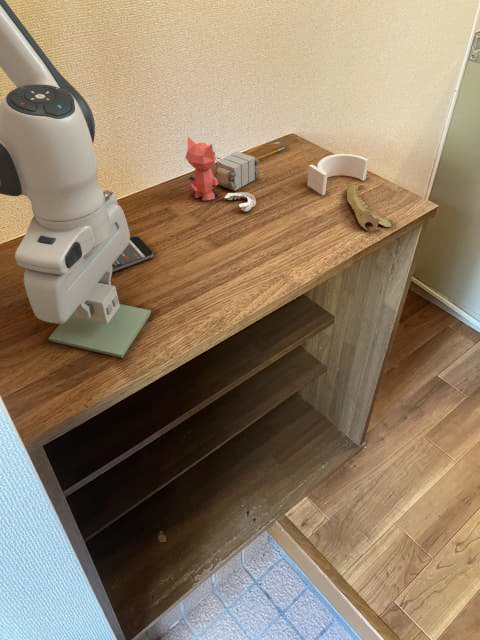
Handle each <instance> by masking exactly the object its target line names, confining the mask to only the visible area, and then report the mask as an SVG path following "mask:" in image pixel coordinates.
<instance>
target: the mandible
mask: <svg viewBox="0 0 480 640" xmlns="http://www.w3.org/2000/svg"><path fill="white" fill-rule="evenodd" d="M362 187H365V185H364V184H363V183H354V184H352V185H350V186H349V187H348V188H347V190H346V200H347V202H348V204H349V205H350V207H351V209H352V210H353V212H354V215H355V218H356V220H357V222H358V224H359V225H360V227H361V228H362V229H364V230H365V231H367V232H368V231H369V230H368V228H367V227H366V224H367V223H370V224H371V225H372V227H373V229H374V230H377V228H378V225H381V226H383V227H385V228H389V227H392V223H391V222H390V220H388V219H387V218H384V217H383V216H380V215H378V214H377V213H375V212H373V211H371V210H369V209H367V208H369V205H367V204H366V202H365V201H363V199H362V198H361V196H362V194H360V191H359V188H362Z"/></svg>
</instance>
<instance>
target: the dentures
mask: <svg viewBox="0 0 480 640" xmlns="http://www.w3.org/2000/svg"><path fill="white" fill-rule="evenodd" d="M241 198H242V199H245V198H246V199H247V201H246V202H241V203H239V205H238V206H239V208H240V210H241V211H242V212H245V213H246V212H249V211H250V210H251V209H252V208H255V207H256V204H257V200H256V197H255V196H254V195H253V194H252V193H250V192H248V191H242V192H241V191H239V192H228V193H227V194H226V195H225V196H224V199H226V200H227V201H232V200H234V201H236V200H241Z"/></svg>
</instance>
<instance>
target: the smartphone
mask: <svg viewBox="0 0 480 640" xmlns="http://www.w3.org/2000/svg"><path fill="white" fill-rule="evenodd" d="M153 257H154V252H153V251H152V250H151V248H150V247H149V246H148V245H147V244H146V243H145V242H144V241H143V239H141V238H140V237H139V236H138V235H133V236H132V235H131V236H130V241H129V245H128V246H127V247H126V248H125V250H124V251H123V252H122V253H121V254H120V256H119V257H118V258H117V259H116V261H115V262H114V263H113V264H112V268H113V269H112V273H115V272H117V271H121V270H123V269H125V268H129V267H132V266H133V265H136V264H139V263H142V262H144V261H147V260H150V259H152V258H153Z"/></svg>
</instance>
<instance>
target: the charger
mask: <svg viewBox="0 0 480 640" xmlns="http://www.w3.org/2000/svg"><path fill="white" fill-rule="evenodd" d="M84 303H86V304H87V303H88V304H92V306H93V310H94V313H93V314H92V316H91V317H90V319H87V320H92V321H96V322H101V323H105V324H108V322H109V321H110V320H111V318H112V317H113V316H114V314H115V313H116V311H117V310H118V309H119V307H120V304H121V303H120V301H119V297H118V292H117V288H116V286H115V285H112V284H111V285H107V284H102V283H97V284H96V285H95V286H94V288H93V289H92V290H91V291H90V293H89V294H88V295H87V296H86V302H84ZM75 312H76V315H77V317H78V318H80V317H79V316H78V313H77V310H75ZM82 319H83V318H82Z"/></svg>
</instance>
